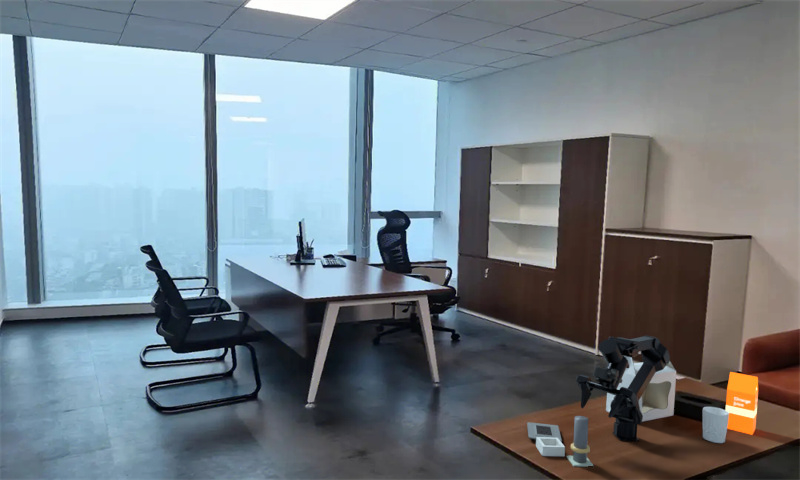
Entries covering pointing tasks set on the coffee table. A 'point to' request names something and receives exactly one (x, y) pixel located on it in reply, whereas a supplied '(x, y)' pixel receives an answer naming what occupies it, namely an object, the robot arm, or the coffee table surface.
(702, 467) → the coffee table surface
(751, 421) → the orange juice
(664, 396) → the gable box
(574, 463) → the rubber pad
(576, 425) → the grey tapered rounded cylinder
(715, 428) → the white cup
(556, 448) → the frame
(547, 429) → the electrical outlet
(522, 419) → the coffee table surface
